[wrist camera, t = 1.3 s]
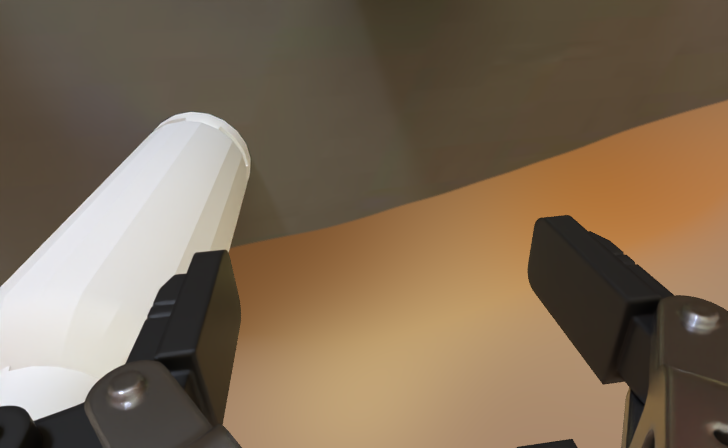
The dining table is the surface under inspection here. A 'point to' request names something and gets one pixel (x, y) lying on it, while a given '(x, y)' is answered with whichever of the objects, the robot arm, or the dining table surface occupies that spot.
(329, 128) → the dining table surface
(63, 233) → the bottle
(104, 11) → the dining table surface
